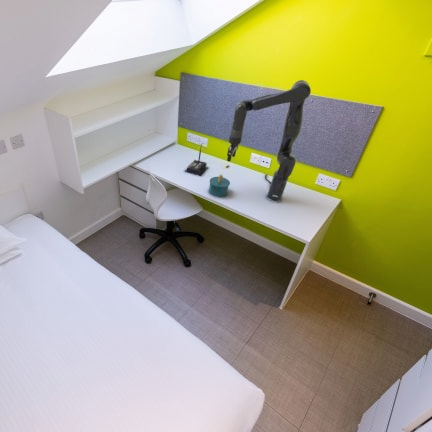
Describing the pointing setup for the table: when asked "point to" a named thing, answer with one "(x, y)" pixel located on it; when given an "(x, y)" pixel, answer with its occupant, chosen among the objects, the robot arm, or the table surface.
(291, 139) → the robot arm
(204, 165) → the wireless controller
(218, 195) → the tin
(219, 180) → the lid
